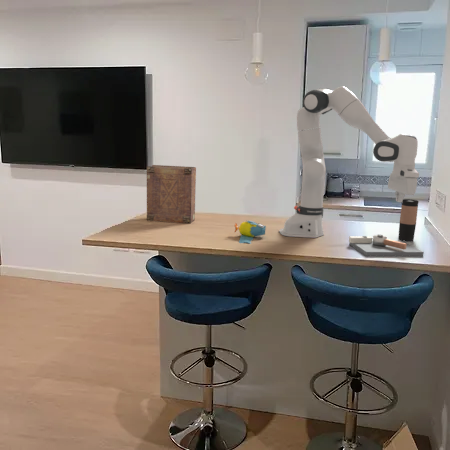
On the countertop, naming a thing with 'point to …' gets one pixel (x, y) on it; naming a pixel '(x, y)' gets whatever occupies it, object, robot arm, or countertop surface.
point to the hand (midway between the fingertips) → (398, 201)
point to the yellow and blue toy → (249, 231)
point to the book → (171, 193)
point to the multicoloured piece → (387, 242)
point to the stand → (382, 248)
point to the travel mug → (408, 220)
